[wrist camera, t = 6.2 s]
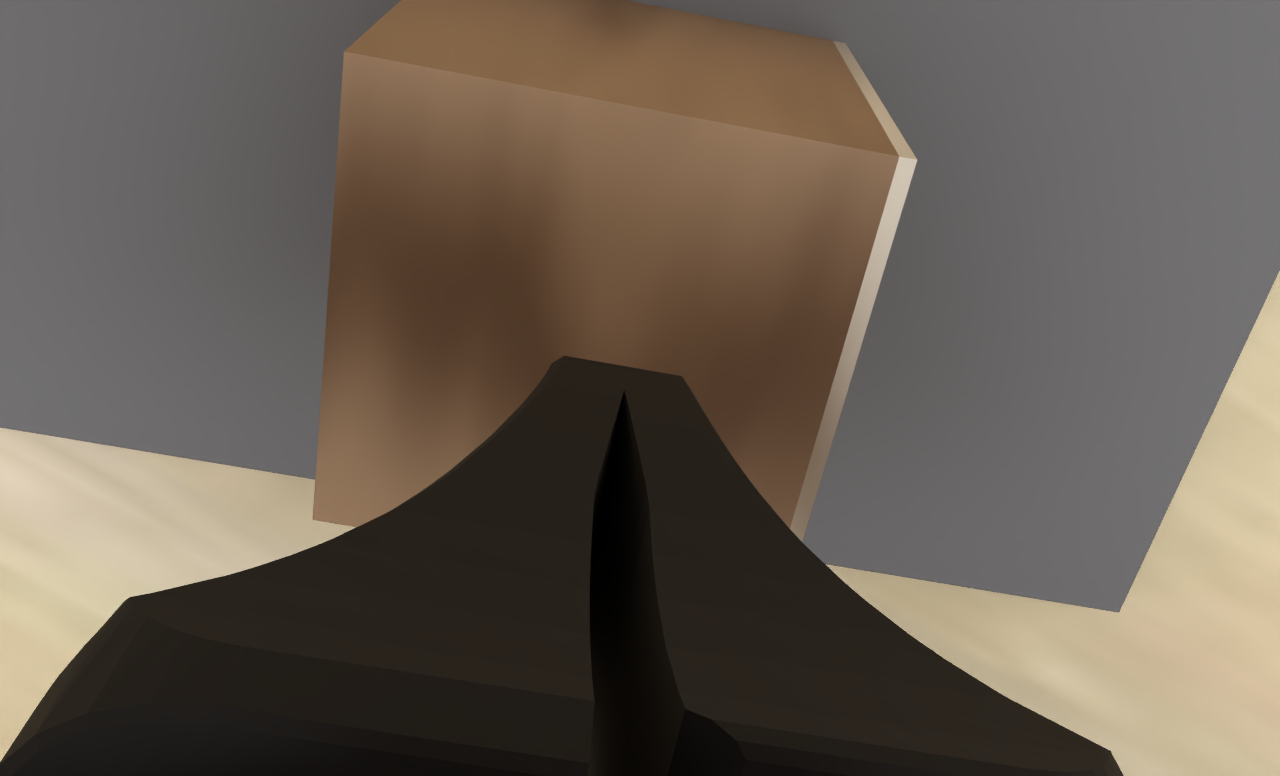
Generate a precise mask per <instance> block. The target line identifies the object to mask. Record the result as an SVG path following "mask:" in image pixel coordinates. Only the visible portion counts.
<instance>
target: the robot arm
mask: <svg viewBox="0 0 1280 776" xmlns="http://www.w3.org/2000/svg"><path fill="white" fill-rule="evenodd" d="M0 776H1123V774H1122V772H1121V770H1120V768H1119V766H1118V764H1117V763H1116V761H1115V759H1114V757H1113V756H1112V753H1111V751H1109V750H1107V749H1105V748H1103V747H1102V746H1100V745H1098V744H1096V743H1094V742H1092V741H1090V740H1088V739H1086V738H1084V737H1082V736H1080V735H1078V734H1076V733H1074V732H1072V731H1070V730H1069V729H1067V728H1065V727H1063V726H1061V725H1059V724H1057V723H1055V722H1053V721H1051V720H1049V719H1047V718H1045V717H1043V716H1041V715H1039V714H1037V713H1035V712H1034V711H1032V710H1030V709H1028V708H1026V707H1024V706H1022V705H1020V704H1018V703H1016V702H1014V701H1012V700H1010V699H1009V698H1007V697H1005V696H1003V695H1002V694H1000V693H998V692H997V691H995V690H993V689H992V688H990V687H988V686H987V685H985V684H984V683H982V682H980V681H979V680H977V679H976V678H974V677H972V676H971V675H969V674H968V673H966V672H964V671H963V670H961V669H960V668H958V667H956V666H955V665H953V664H951V663H950V662H948V661H947V660H945V659H944V658H942V657H941V656H939V655H938V654H936V653H935V652H934V651H932V650H931V649H929V648H928V647H926V646H925V645H923V644H922V643H920V642H919V641H918V640H916V639H915V638H913V637H912V636H911V635H909V634H908V633H907V632H905V631H904V630H903V629H901V628H900V627H899V626H897V625H896V624H895V623H894V622H892V621H891V620H890V619H888V618H887V617H886V616H885V615H883V614H882V613H881V612H879V611H878V610H877V609H876V608H874V607H873V606H872V605H870V604H869V603H868V602H867V601H865V600H864V599H863V598H862V597H861V596H859V595H858V594H857V593H856V592H855V591H854V590H852V589H851V588H850V587H849V586H848V585H847V584H845V583H844V582H843V581H842V580H841V579H840V578H839V577H838V576H837V575H836V574H835V573H834V572H833V571H832V570H831V569H829V568H828V567H827V566H826V565H825V564H824V563H823V562H822V561H821V560H820V559H819V558H818V557H817V556H816V555H815V554H814V553H813V552H812V551H811V550H810V549H809V548H808V547H807V546H806V545H805V544H804V543H803V542H802V541H801V540H800V539H799V538H798V537H797V536H796V535H795V534H794V533H793V532H792V531H791V530H790V528H789V527H788V526H787V525H786V524H785V523H784V522H783V520H782V519H781V518H780V517H779V516H778V514H777V513H776V512H775V511H774V510H773V509H772V507H771V506H770V505H769V504H768V503H767V501H766V500H765V499H764V498H763V497H762V495H761V494H760V493H759V492H758V490H757V489H756V488H755V487H754V485H753V484H752V483H751V481H750V480H749V479H748V477H747V476H746V475H745V473H744V472H743V470H742V469H741V468H740V466H739V465H738V463H737V462H736V460H735V459H734V458H733V456H732V455H731V453H730V452H729V450H728V449H727V447H726V446H725V444H724V443H723V441H722V440H721V438H720V436H719V435H718V433H717V432H716V430H715V428H714V427H713V425H712V424H711V422H710V420H709V419H708V417H707V416H706V414H705V412H704V411H703V409H702V407H701V406H700V404H699V402H698V400H697V399H696V397H695V395H694V394H693V392H692V390H691V389H690V387H689V386H688V384H687V383H686V381H685V380H684V378H683V377H682V376H678V375H673V374H667V373H661V372H655V371H650V370H644V369H638V368H632V367H627V366H621V365H615V364H610V363H604V362H598V361H592V360H587V359H581V358H575V357H569V356H563V357H561V358H559V359H558V360H556V361H555V362H553V363H551V365H550V367H549V369H548V371H547V373H546V374H545V376H544V377H543V379H542V380H541V381H540V383H539V384H538V385H537V387H536V388H535V389H534V390H533V391H532V393H531V394H530V395H529V396H528V397H527V398H526V400H525V401H524V402H523V403H522V404H521V405H520V406H519V407H518V409H517V410H516V411H515V412H514V413H513V414H512V415H511V416H510V417H509V418H508V419H507V420H506V421H505V422H504V423H503V424H502V425H501V426H500V427H499V428H498V429H497V430H496V431H495V432H494V433H493V434H492V435H491V436H490V437H489V438H487V439H486V440H485V441H484V442H483V443H482V444H481V445H479V446H478V447H477V448H476V449H475V450H473V451H472V452H471V453H470V454H469V455H468V456H466V457H465V458H464V459H463V460H462V461H460V462H459V463H458V464H457V465H456V466H454V467H453V468H452V469H451V470H450V471H448V472H447V473H446V474H444V475H443V476H442V477H440V478H439V479H438V480H436V481H435V482H433V483H432V484H431V485H429V486H428V487H426V488H425V489H423V490H422V491H421V492H419V493H418V494H416V495H414V496H413V497H411V498H410V499H408V500H407V501H405V502H403V503H402V504H400V505H399V506H397V507H396V508H394V509H392V510H391V511H389V512H387V513H385V514H383V515H381V516H379V517H377V518H375V519H373V520H371V521H369V522H367V523H365V524H363V525H360V526H358V527H356V528H354V529H352V530H350V531H348V532H346V533H344V534H342V535H340V536H338V537H336V538H334V539H331V540H329V541H327V542H324V543H322V544H319V545H317V546H314V547H311V548H309V549H306V550H304V551H301V552H298V553H296V554H293V555H291V556H288V557H285V558H282V559H279V560H276V561H273V562H270V563H267V564H264V565H261V566H258V567H254V568H251V569H248V570H244V571H241V572H237V573H234V574H231V575H227V576H223V577H218V578H214V579H210V580H206V581H201V582H197V583H193V584H189V585H184V586H180V587H176V588H172V589H167V590H163V591H159V592H155V593H150V594H145V595H139V596H134V597H130V598H128V599H127V600H126V601H124V602H123V603H122V605H121V606H120V607H119V608H118V609H117V610H116V611H115V613H114V614H113V615H112V616H111V617H110V618H109V619H108V621H107V622H106V623H105V624H104V625H103V626H102V627H101V629H100V630H99V631H98V632H97V633H96V634H95V635H94V636H93V637H92V638H91V639H90V640H89V641H88V642H87V643H86V644H85V646H84V647H83V648H82V649H81V650H80V652H79V653H78V654H77V655H76V656H75V657H74V659H73V660H72V661H71V662H70V663H69V664H68V666H67V667H66V668H65V669H64V670H63V672H62V673H61V674H60V675H59V676H58V678H57V679H56V680H55V682H54V683H53V684H52V686H51V687H50V689H49V690H48V692H47V693H46V694H45V696H44V697H43V699H42V700H41V702H40V703H39V705H38V706H37V707H36V709H35V710H34V712H33V713H32V715H31V716H30V718H29V720H28V721H27V723H26V724H25V726H24V727H23V729H22V730H21V732H20V733H19V735H18V736H17V738H16V739H15V741H14V742H13V744H12V745H11V747H10V748H9V750H8V751H7V753H6V754H5V756H4V757H3V759H2V760H1V762H0Z"/></svg>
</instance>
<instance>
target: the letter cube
mask: <svg viewBox="0 0 1280 776" xmlns="http://www.w3.org/2000/svg"><path fill="white" fill-rule="evenodd" d="M916 163H917V158H916V157H915V155H914V154H913V152H912V150H911V149H910V147H909V145H908V144H907V142H906V141H905V139H904V137H903V136H902V134H901V132H900V131H899V129H898V128H897V126H896V124H895V123H894V121H893V119H892V118H891V116H890V115H889V113H888V111H887V110H886V108H885V106H884V105H883V103H882V102H881V100H880V98H879V97H878V95H877V93H876V92H875V90H874V89H873V87H872V85H871V84H870V82H869V80H868V79H867V77H866V76H865V74H864V72H863V71H862V69H861V67H860V66H859V64H858V63H857V61H856V59H855V58H854V56H853V54H852V53H851V51H850V50H849V48H848V46H847V45H846V43H843V42H838V41H833V40H828V39H823V38H818V37H812V36H807V35H802V34H797V33H792V32H787V31H782V30H777V29H771V28H766V27H761V26H756V25H751V24H746V23H741V22H736V21H730V20H725V19H720V18H715V17H710V16H705V15H700V14H695V13H689V12H684V11H679V10H674V9H669V8H664V7H659V6H653V5H648V4H643V3H638V2H633V1H628V0H401V1H400V2H399V3H397V4H396V5H395V6H394V7H393V8H392V9H391V10H390V11H389V12H387V13H386V14H385V15H384V16H383V17H382V18H381V19H380V20H378V21H377V22H376V23H375V24H374V25H373V26H372V27H371V28H370V29H368V30H367V31H366V32H365V33H364V34H363V35H362V36H361V37H360V38H358V39H357V40H356V41H355V42H354V43H353V44H352V45H351V46H349V47H348V48H347V49H346V50H345V51H344V59H343V74H342V89H341V104H340V119H339V134H338V149H337V164H336V179H335V194H334V209H333V224H332V239H331V254H330V269H329V284H328V299H327V314H326V329H325V344H324V359H323V374H322V389H321V404H320V419H319V434H318V449H317V464H316V479H315V494H314V509H313V520H318V521H324V522H330V523H336V524H342V525H349V526H355V527H358V526H360V525H363V524H365V523H367V522H369V521H371V520H373V519H375V518H377V517H379V516H381V515H383V514H385V513H387V512H389V511H391V510H392V509H394V508H396V507H397V506H399V505H400V504H402V503H403V502H405V501H407V500H408V499H410V498H411V497H413V496H414V495H416V494H418V493H419V492H421V491H422V490H423V489H425V488H426V487H428V486H429V485H431V484H432V483H433V482H435V481H436V480H438V479H439V478H440V477H442V476H443V475H444V474H446V473H447V472H448V471H450V470H451V469H452V468H453V467H454V466H456V465H457V464H458V463H459V462H460V461H462V460H463V459H464V458H465V457H466V456H468V455H469V454H470V453H471V452H472V451H473V450H475V449H476V448H477V447H478V446H479V445H481V444H482V443H483V442H484V441H485V440H486V439H487V438H489V437H490V436H491V435H492V434H493V433H494V432H495V431H496V430H497V429H498V428H499V427H500V426H501V425H502V424H503V423H504V422H505V421H506V420H507V419H508V418H509V417H510V416H511V415H512V414H513V413H514V412H515V411H516V410H517V409H518V407H519V406H520V405H521V404H522V403H523V402H524V401H525V400H526V398H527V397H528V396H529V395H530V394H531V393H532V391H533V390H534V389H535V388H536V387H537V385H538V384H539V383H540V381H541V380H542V379H543V377H544V376H545V374H546V373H547V371H548V369H549V367H550V365H551V363H553V362H555V361H556V360H558V359H559V358H561V357H563V356H569V357H575V358H581V359H587V360H592V361H598V362H604V363H610V364H615V365H621V366H627V367H632V368H638V369H644V370H650V371H655V372H661V373H667V374H673V375H678V376H682V377H683V378H684V380H685V381H686V383H687V384H688V386H689V387H690V389H691V390H692V392H693V394H694V395H695V397H696V399H697V400H698V402H699V404H700V406H701V407H702V409H703V411H704V412H705V414H706V416H707V417H708V419H709V420H710V422H711V424H712V425H713V427H714V428H715V430H716V432H717V433H718V435H719V436H720V438H721V440H722V441H723V443H724V444H725V446H726V447H727V449H728V450H729V452H730V453H731V455H732V456H733V458H734V459H735V460H736V462H737V463H738V465H739V466H740V468H741V469H742V470H743V472H744V473H745V475H746V476H747V477H748V479H749V480H750V481H751V483H752V484H753V485H754V487H755V488H756V489H757V490H758V492H759V493H760V494H761V495H762V497H763V498H764V499H765V500H766V501H767V503H768V504H769V505H770V506H771V507H772V509H773V510H774V511H775V512H776V513H777V514H778V516H779V517H780V518H781V519H782V520H783V522H784V523H785V524H786V525H787V526H788V527H789V528H790V530H791V531H792V532H793V533H794V534H795V535H796V536H797V537H798V538H799V539H800V540H801V541H802V540H803V537H804V534H805V530H806V527H807V524H808V520H809V517H810V514H811V511H812V507H813V504H814V501H815V497H816V494H817V491H818V487H819V484H820V481H821V477H822V474H823V471H824V467H825V464H826V461H827V458H828V454H829V451H830V448H831V444H832V441H833V438H834V434H835V431H836V428H837V424H838V421H839V418H840V414H841V411H842V408H843V405H844V401H845V398H846V395H847V391H848V388H849V385H850V381H851V378H852V375H853V371H854V368H855V365H856V361H857V358H858V355H859V352H860V348H861V345H862V342H863V338H864V335H865V332H866V328H867V325H868V322H869V318H870V315H871V312H872V308H873V305H874V302H875V299H876V295H877V292H878V289H879V285H880V282H881V279H882V275H883V272H884V269H885V265H886V262H887V259H888V255H889V252H890V249H891V246H892V242H893V239H894V236H895V232H896V229H897V226H898V222H899V219H900V216H901V212H902V209H903V206H904V202H905V199H906V196H907V193H908V189H909V186H910V183H911V179H912V176H913V173H914V169H915V166H916Z"/></svg>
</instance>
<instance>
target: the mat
mask: <svg viewBox="0 0 1280 776" xmlns="http://www.w3.org/2000/svg"><path fill="white" fill-rule="evenodd" d="M400 1H401V0H0V427H1V428H7V429H13V430H19V431H25V432H31V433H37V434H43V435H49V436H55V437H61V438H68V439H74V440H80V441H86V442H92V443H98V444H104V445H110V446H116V447H122V448H128V449H134V450H140V451H146V452H152V453H158V454H164V455H170V456H176V457H182V458H188V459H194V460H201V461H207V462H213V463H219V464H225V465H231V466H237V467H243V468H249V469H255V470H261V471H267V472H273V473H279V474H285V475H291V476H297V477H303V478H309V479H316V464H317V449H318V434H319V419H320V404H321V389H322V374H323V359H324V344H325V329H326V314H327V299H328V284H329V269H330V254H331V239H332V224H333V209H334V194H335V179H336V164H337V149H338V134H339V119H340V104H341V89H342V74H343V59H344V51H345V50H346V49H347V48H348V47H349V46H351V45H352V44H353V43H354V42H355V41H356V40H357V39H358V38H360V37H361V36H362V35H363V34H364V33H365V32H366V31H367V30H368V29H370V28H371V27H372V26H373V25H374V24H375V23H376V22H377V21H378V20H380V19H381V18H382V17H383V16H384V15H385V14H386V13H387V12H389V11H390V10H391V9H392V8H393V7H394V6H395V5H396V4H397V3H399V2H400ZM628 1H633V2H638V3H643V4H648V5H653V6H659V7H664V8H669V9H674V10H679V11H684V12H689V13H695V14H700V15H705V16H710V17H715V18H720V19H725V20H730V21H736V22H741V23H746V24H751V25H756V26H761V27H766V28H771V29H777V30H782V31H787V32H792V33H797V34H802V35H807V36H812V37H818V38H823V39H828V40H833V41H838V42H843V43H846V45H847V46H848V48H849V50H850V51H851V53H852V54H853V56H854V58H855V59H856V61H857V63H858V64H859V66H860V67H861V69H862V71H863V72H864V74H865V76H866V77H867V79H868V80H869V82H870V84H871V85H872V87H873V89H874V90H875V92H876V93H877V95H878V97H879V98H880V100H881V102H882V103H883V105H884V106H885V108H886V110H887V111H888V113H889V115H890V116H891V118H892V119H893V121H894V123H895V124H896V126H897V128H898V129H899V131H900V132H901V134H902V136H903V137H904V139H905V141H906V142H907V144H908V145H909V147H910V149H911V150H912V152H913V154H914V155H915V157H916V158H917V163H916V166H915V169H914V173H913V176H912V179H911V183H910V186H909V189H908V193H907V196H906V199H905V202H904V206H903V209H902V212H901V216H900V219H899V222H898V226H897V229H896V232H895V236H894V239H893V242H892V246H891V249H890V252H889V255H888V259H887V262H886V265H885V269H884V272H883V275H882V279H881V282H880V285H879V289H878V292H877V295H876V299H875V302H874V305H873V308H872V312H871V315H870V318H869V322H868V325H867V328H866V332H865V335H864V338H863V342H862V345H861V348H860V352H859V355H858V358H857V361H856V365H855V368H854V371H853V375H852V378H851V381H850V385H849V388H848V391H847V395H846V398H845V401H844V405H843V408H842V411H841V414H840V418H839V421H838V424H837V428H836V431H835V434H834V438H833V441H832V444H831V448H830V451H829V454H828V458H827V461H826V464H825V467H824V471H823V474H822V477H821V481H820V484H819V487H818V491H817V494H816V497H815V501H814V504H813V507H812V511H811V514H810V517H809V520H808V524H807V527H806V530H805V534H804V537H803V540H802V542H803V543H804V544H805V545H806V546H807V547H808V548H809V549H810V550H811V551H812V552H813V553H814V554H815V555H816V556H817V557H818V558H819V559H820V560H821V561H822V562H823V563H824V564H829V565H835V566H841V567H847V568H853V569H859V570H865V571H871V572H878V573H884V574H890V575H896V576H902V577H908V578H914V579H920V580H926V581H932V582H938V583H944V584H950V585H956V586H962V587H968V588H974V589H980V590H986V591H992V592H998V593H1004V594H1010V595H1017V596H1023V597H1029V598H1035V599H1041V600H1047V601H1053V602H1059V603H1065V604H1071V605H1077V606H1083V607H1089V608H1095V609H1101V610H1107V611H1113V612H1119V611H1120V609H1121V607H1122V605H1123V603H1124V601H1125V598H1126V596H1127V594H1128V592H1129V590H1130V588H1131V586H1132V584H1133V581H1134V579H1135V577H1136V575H1137V573H1138V571H1139V569H1140V566H1141V564H1142V562H1143V560H1144V558H1145V556H1146V554H1147V552H1148V549H1149V547H1150V545H1151V543H1152V541H1153V539H1154V537H1155V535H1156V532H1157V530H1158V528H1159V526H1160V524H1161V522H1162V520H1163V517H1164V515H1165V513H1166V511H1167V509H1168V507H1169V505H1170V503H1171V500H1172V498H1173V496H1174V494H1175V492H1176V490H1177V488H1178V486H1179V483H1180V481H1181V479H1182V477H1183V475H1184V473H1185V471H1186V468H1187V466H1188V464H1189V462H1190V460H1191V458H1192V456H1193V454H1194V451H1195V449H1196V447H1197V445H1198V443H1199V441H1200V439H1201V437H1202V434H1203V432H1204V430H1205V428H1206V426H1207V424H1208V422H1209V419H1210V417H1211V415H1212V413H1213V411H1214V409H1215V407H1216V405H1217V402H1218V400H1219V398H1220V396H1221V394H1222V392H1223V390H1224V388H1225V385H1226V383H1227V381H1228V379H1229V377H1230V375H1231V373H1232V370H1233V368H1234V366H1235V364H1236V362H1237V360H1238V358H1239V356H1240V353H1241V351H1242V349H1243V347H1244V345H1245V343H1246V341H1247V339H1248V336H1249V334H1250V332H1251V330H1252V328H1253V326H1254V324H1255V321H1256V319H1257V317H1258V315H1259V313H1260V311H1261V309H1262V307H1263V304H1264V302H1265V300H1266V298H1267V296H1268V294H1269V292H1270V290H1271V287H1272V285H1273V283H1274V281H1275V279H1276V277H1277V275H1278V272H1279V270H1280V0H628Z"/></svg>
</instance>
